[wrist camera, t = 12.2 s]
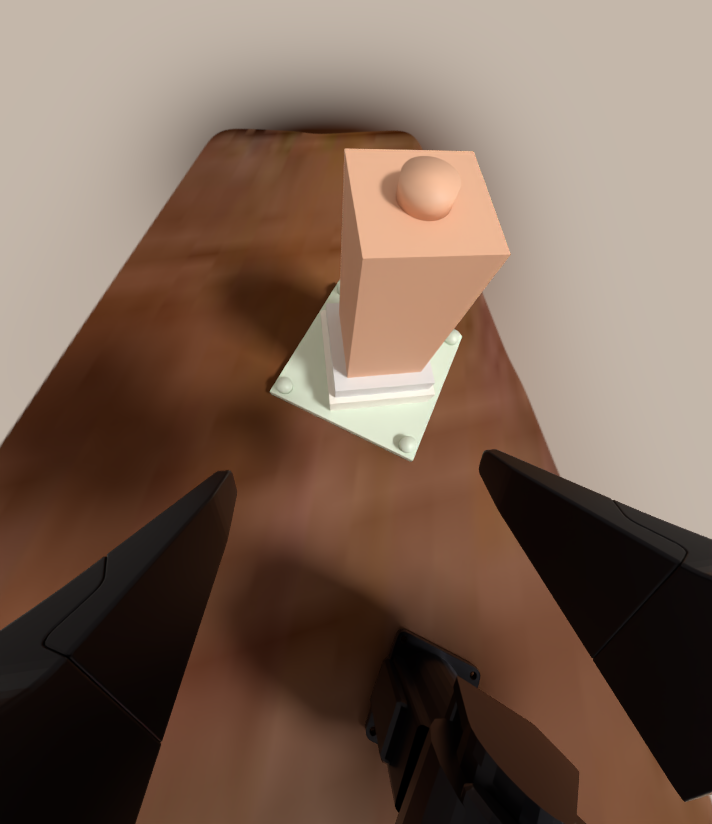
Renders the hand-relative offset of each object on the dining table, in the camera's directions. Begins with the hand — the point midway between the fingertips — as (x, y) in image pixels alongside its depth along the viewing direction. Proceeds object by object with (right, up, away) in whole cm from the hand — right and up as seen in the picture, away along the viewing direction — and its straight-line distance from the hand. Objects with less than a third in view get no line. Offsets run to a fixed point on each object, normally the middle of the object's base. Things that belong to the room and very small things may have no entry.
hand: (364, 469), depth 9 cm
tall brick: (+2, +8, +12) cm, 15 cm away
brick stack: (+1, +7, +15) cm, 17 cm away
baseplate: (+1, +7, +16) cm, 18 cm away
